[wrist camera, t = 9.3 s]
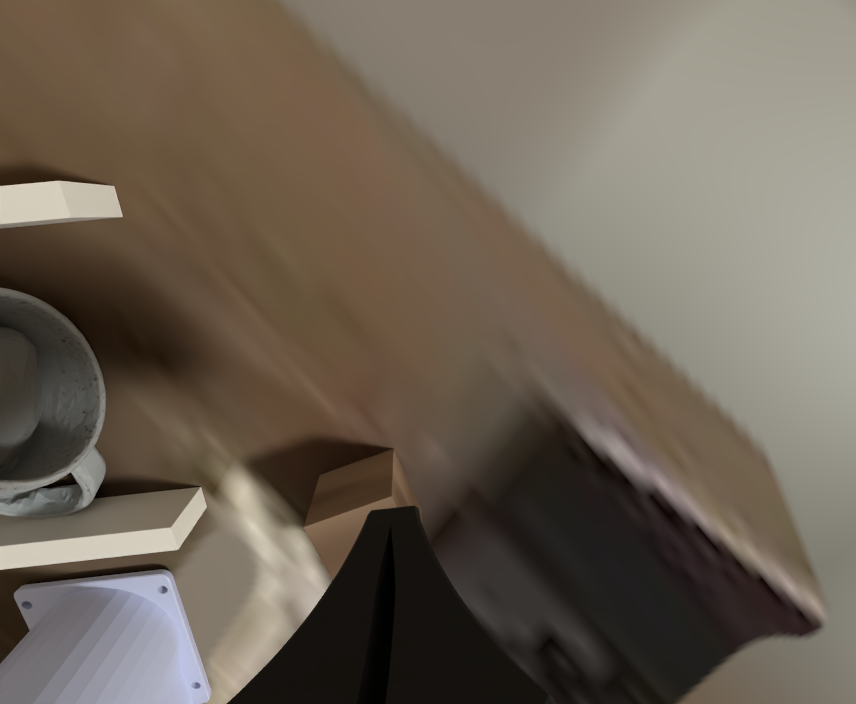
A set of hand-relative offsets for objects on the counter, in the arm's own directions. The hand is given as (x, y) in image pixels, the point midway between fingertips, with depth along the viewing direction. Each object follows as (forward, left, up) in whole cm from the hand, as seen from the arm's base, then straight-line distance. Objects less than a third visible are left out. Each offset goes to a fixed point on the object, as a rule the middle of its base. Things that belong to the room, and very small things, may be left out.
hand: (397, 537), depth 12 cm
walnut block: (-5, +2, -10) cm, 11 cm away
